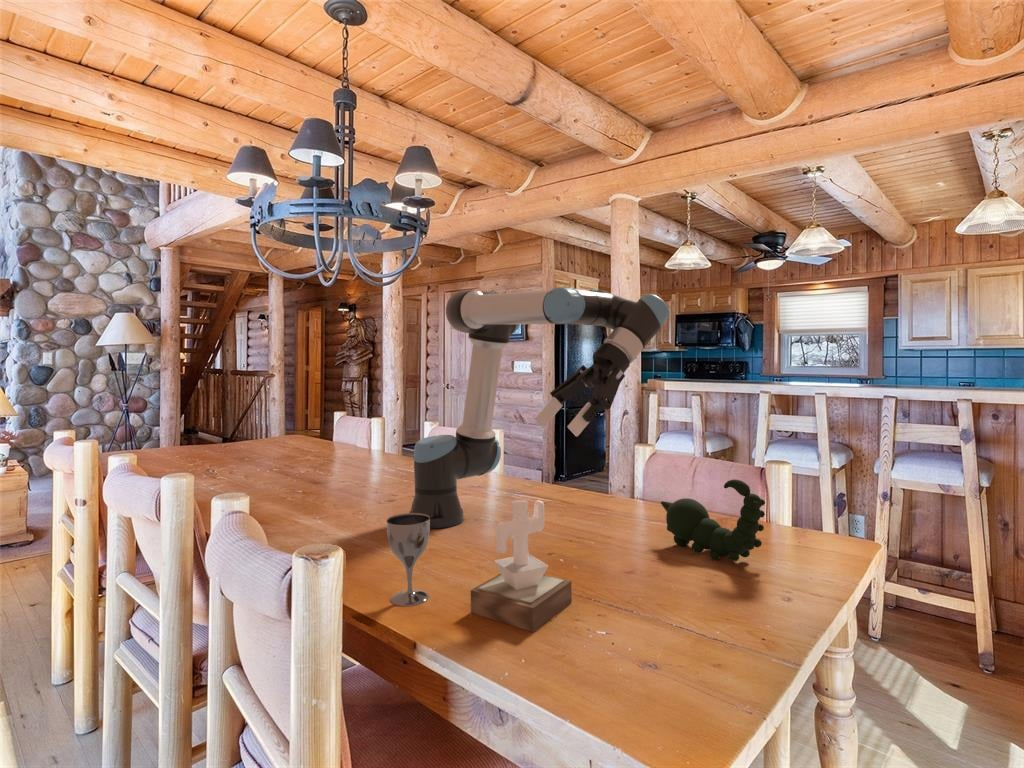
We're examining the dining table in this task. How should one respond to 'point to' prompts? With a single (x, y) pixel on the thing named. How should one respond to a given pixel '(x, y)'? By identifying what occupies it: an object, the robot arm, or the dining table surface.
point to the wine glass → (408, 550)
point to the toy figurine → (716, 525)
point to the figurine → (520, 546)
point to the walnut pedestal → (521, 601)
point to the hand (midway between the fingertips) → (554, 427)
